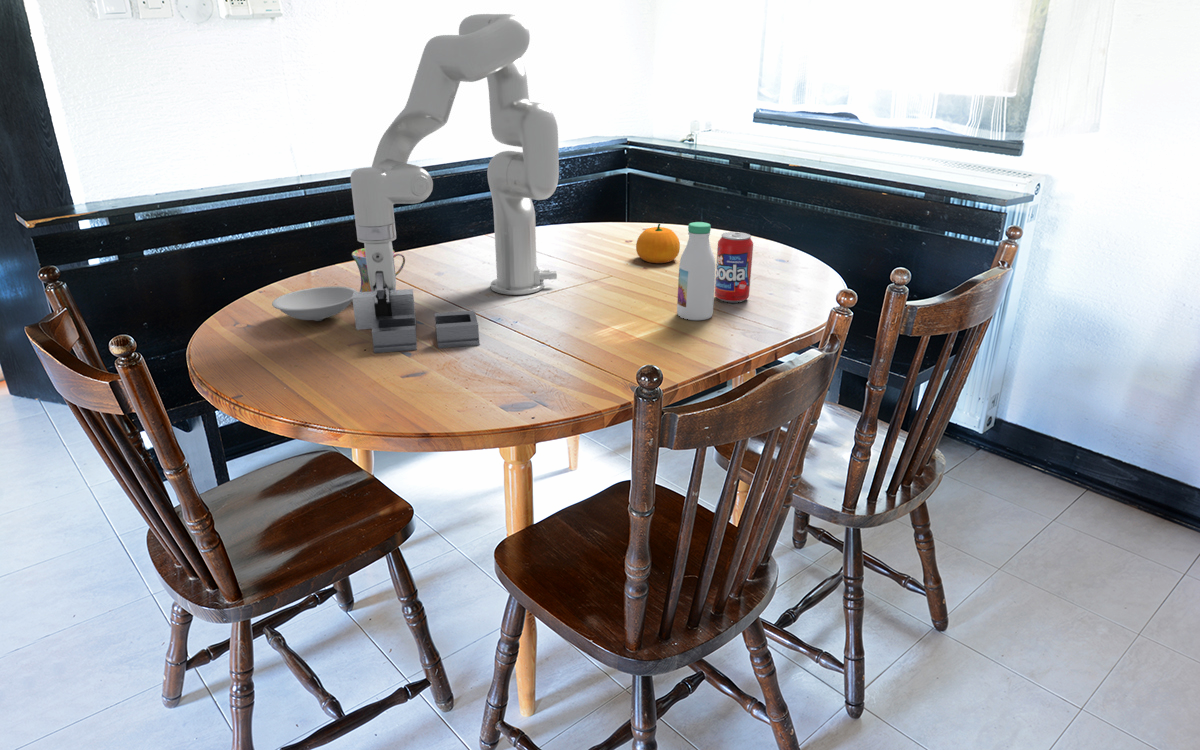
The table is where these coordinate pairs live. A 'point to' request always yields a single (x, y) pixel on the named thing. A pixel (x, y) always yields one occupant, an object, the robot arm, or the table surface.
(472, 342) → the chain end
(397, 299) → the gray trapezoid plate
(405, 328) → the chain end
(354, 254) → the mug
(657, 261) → the fruit
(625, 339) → the table surface
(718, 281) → the soda can
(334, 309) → the dish
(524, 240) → the robot arm
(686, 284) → the milk bottle
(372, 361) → the table surface
